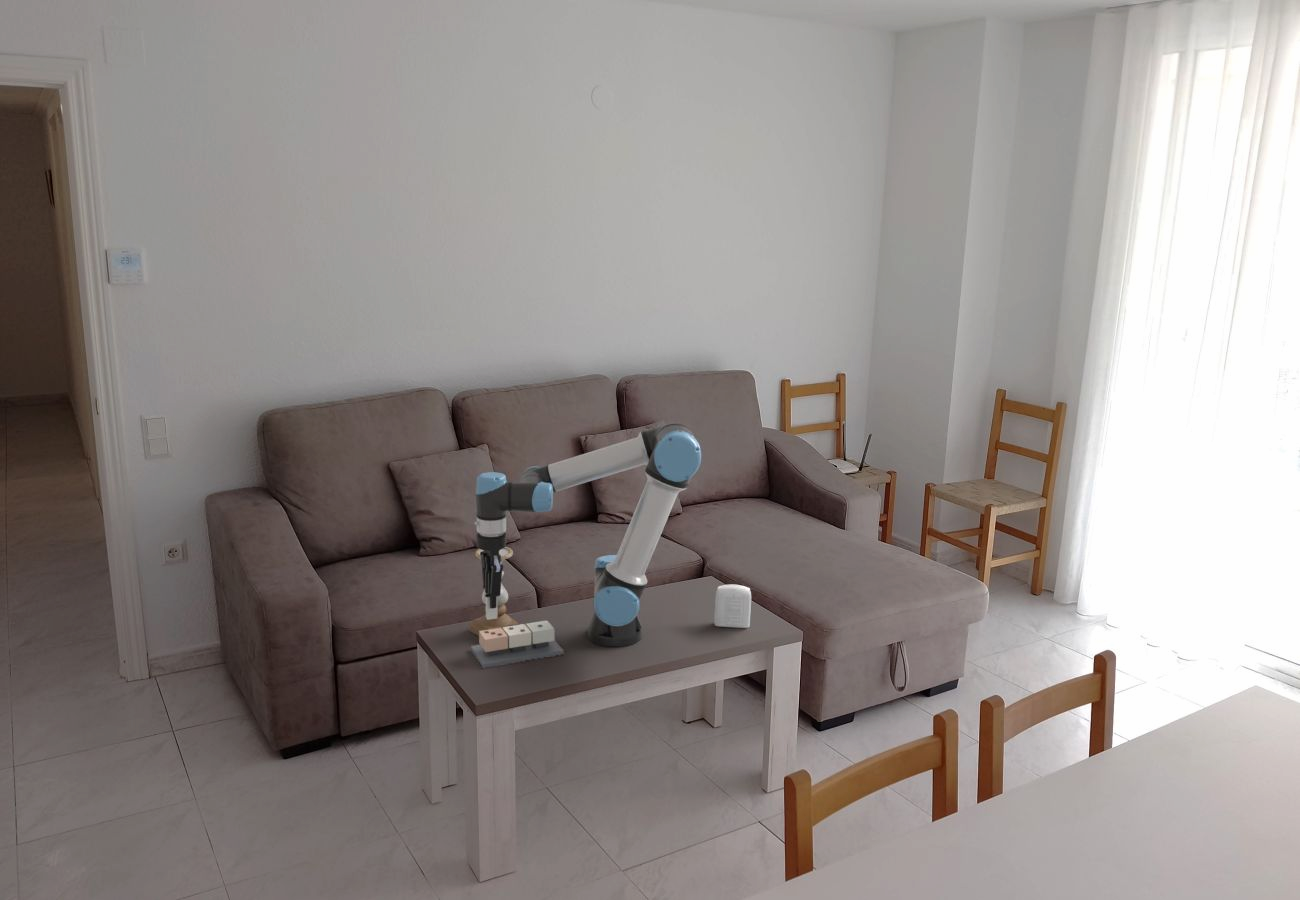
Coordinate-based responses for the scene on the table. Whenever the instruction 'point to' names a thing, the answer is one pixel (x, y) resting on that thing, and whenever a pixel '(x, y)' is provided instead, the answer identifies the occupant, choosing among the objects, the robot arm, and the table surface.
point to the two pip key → (518, 635)
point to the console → (516, 653)
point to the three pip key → (493, 639)
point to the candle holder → (502, 618)
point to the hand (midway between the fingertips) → (491, 617)
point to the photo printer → (732, 606)
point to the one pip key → (541, 632)
